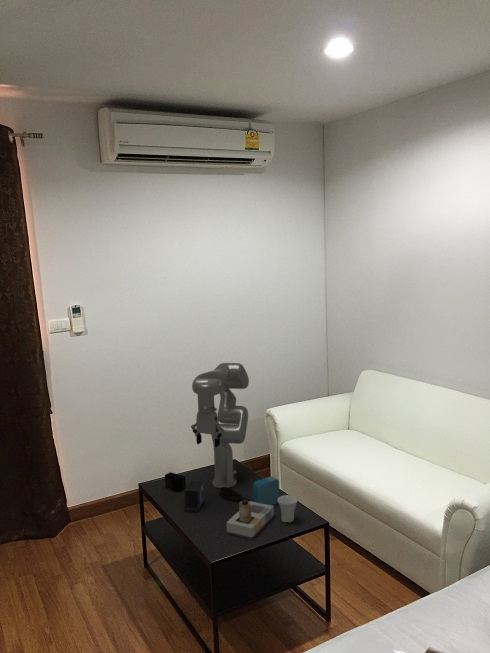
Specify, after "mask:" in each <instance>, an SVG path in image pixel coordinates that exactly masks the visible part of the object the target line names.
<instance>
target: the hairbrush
mask: <svg viewBox="0 0 490 653" xmlns="http://www.w3.org/2000/svg"><path fill="white" fill-rule="evenodd" d="M219 495H220V497H221V498H222V499H224V500H225V501H230V502H239V501H240V502H241V501H242V500H244V499H246V500H248V501H252V500H250V499H248V498H246V497H243V496H242V494H240V493H239V492H238V491H236V490H234V489H233V488H231V487H229V488H228V487H227V486H226V487H222V488H221V487H220V488H219ZM252 502H254V500H253V501H252Z"/></svg>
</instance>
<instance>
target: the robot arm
mask: <svg viewBox="0 0 490 653" xmlns="http://www.w3.org/2000/svg"><path fill="white" fill-rule="evenodd" d="M249 383H250V379H249V375H248V373H247V371H246V369H245V367H244V366H243V364H241V363H240V362H222V363H219V365H217V366H216V367H215V368H213V370H210V371H206V372H203V373H200V374H198V375H196V377H195V378H194V379H193V381H192V383H191V384H192V385H191V388H192V391H193V393H194V394H196V395H197V408H198V411H197V413H196V423H193V424H192V425H191V426H190V427H191V429H192V432H193V434H194V436H195V438H196V440H195V441H196V444H197V445H200V444H201V443H202V434H205V435H211V439H212V445H213V446H212V447H213V461H214V462H213V463H214V478H213V480H211V481H212V482H211V483H212V486H213V487H215V488H218V489H220V487H221V488H222V487H226V486H227V487H228V488H229V487H230V488H233V487H234V486H236V485H237V483H238V482H237V478H235V475H236V474H237V470H235V469H234V460H233V459H234V457H233V454H234V453H233V449H232V446H231V445H230V444H243V443H244V442H245V440H246V435H247V434H246V433H247V428H248V420H249V412H248V408H247V407H246V406H243V405H237V397H236V396H235V393H234V392H233V391H232V390H231V389H233V390H244V389H247V388H248V386H249ZM217 395H219V396H220V399H219V400H220V401H219V406H218V409H217V407H216V406H215V396H217ZM217 410H218V411H217Z"/></svg>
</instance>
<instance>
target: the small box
mask: <svg viewBox="0 0 490 653" xmlns="http://www.w3.org/2000/svg"><path fill="white" fill-rule="evenodd" d="M204 501H205V500H204V482H203V481H195V480H191V481H190V482H189V484H187V486H186V489H185V490H184V511H185V512H190V513H191V512H192V513H198V512H199V510H200V509H201V507H202V506H203V504H204Z"/></svg>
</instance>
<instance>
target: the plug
mask: <svg viewBox="0 0 490 653" xmlns="http://www.w3.org/2000/svg"><path fill="white" fill-rule="evenodd" d="M246 499H247V498H246ZM246 499H244V500H242V501H241V500H240V502H239V503H238V505H239V506H238V509H239V518H240V522H241V523H245V524H249V523H250V522H251V502H249V501H248V500H246Z"/></svg>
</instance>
